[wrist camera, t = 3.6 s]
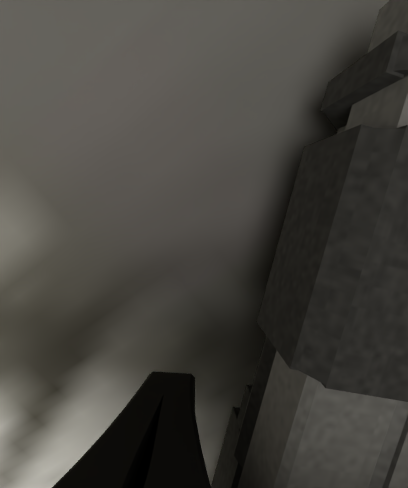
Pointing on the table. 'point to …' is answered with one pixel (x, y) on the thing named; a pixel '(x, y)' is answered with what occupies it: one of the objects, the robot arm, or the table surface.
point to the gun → (338, 298)
